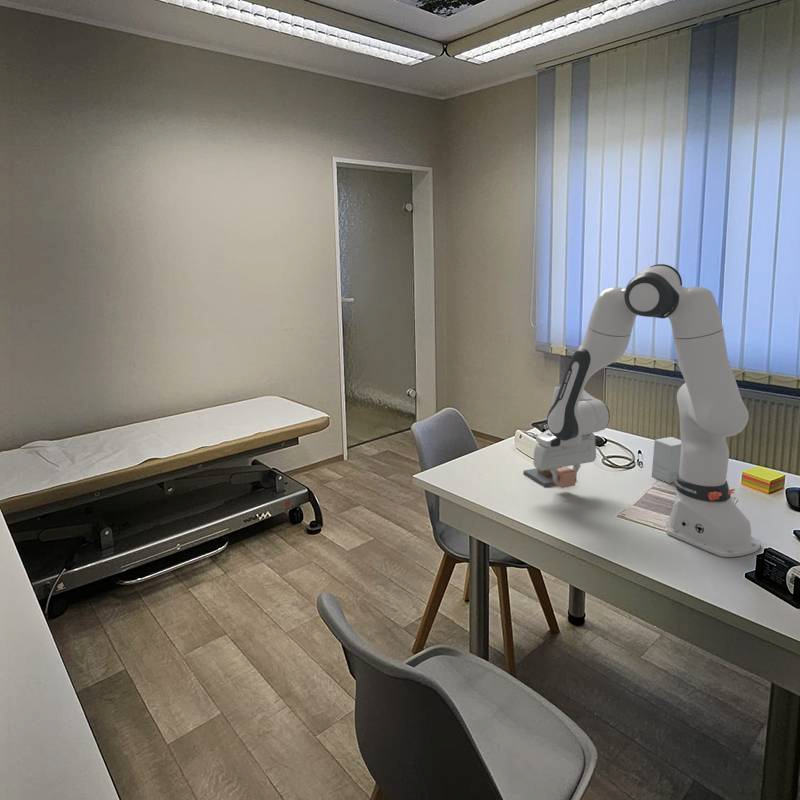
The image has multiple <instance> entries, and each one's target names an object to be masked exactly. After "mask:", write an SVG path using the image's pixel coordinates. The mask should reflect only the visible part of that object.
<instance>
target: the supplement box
mask: <svg viewBox="0 0 800 800" xmlns="http://www.w3.org/2000/svg"><path fill="white" fill-rule="evenodd" d="M652 454H653V455H652V456H653V457H652V467H651V469H652V470H651V477H652V476H653V477H652V478H655V479H657V480H659V479H660V481H661V480H662V482H664V481H665V482H664V483H666V482H667V483H666V484H668V483H669V484H672V483H671V482H674V483H676V479H677V475H678V474H679V468H680V458H681V439H678V438H676V437H673V436H669V437H663V438H657V439H654V444H653V453H652Z"/></svg>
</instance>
